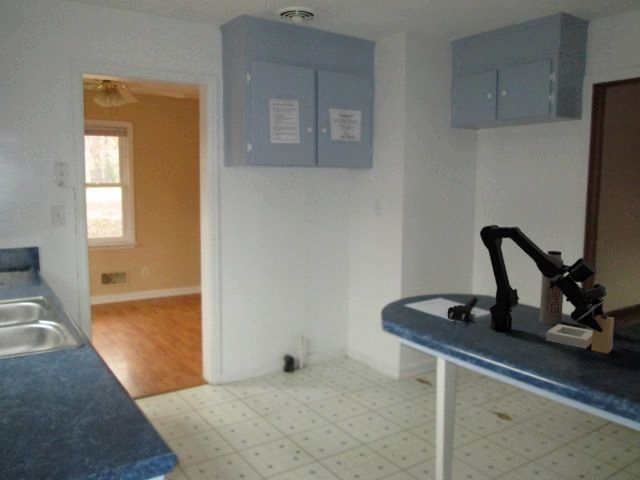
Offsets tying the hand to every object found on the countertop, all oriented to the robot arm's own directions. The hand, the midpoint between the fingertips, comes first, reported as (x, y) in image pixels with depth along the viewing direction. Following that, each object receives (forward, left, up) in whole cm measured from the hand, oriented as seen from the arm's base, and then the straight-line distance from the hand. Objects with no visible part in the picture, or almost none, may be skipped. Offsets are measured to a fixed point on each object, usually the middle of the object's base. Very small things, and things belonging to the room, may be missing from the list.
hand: (605, 328), depth 179 cm
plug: (0, +1, -8) cm, 8 cm away
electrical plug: (-26, +54, -8) cm, 60 cm away
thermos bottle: (+1, +34, -8) cm, 34 cm away
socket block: (-4, +12, -8) cm, 14 cm away
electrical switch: (+9, +24, -8) cm, 26 cm away
